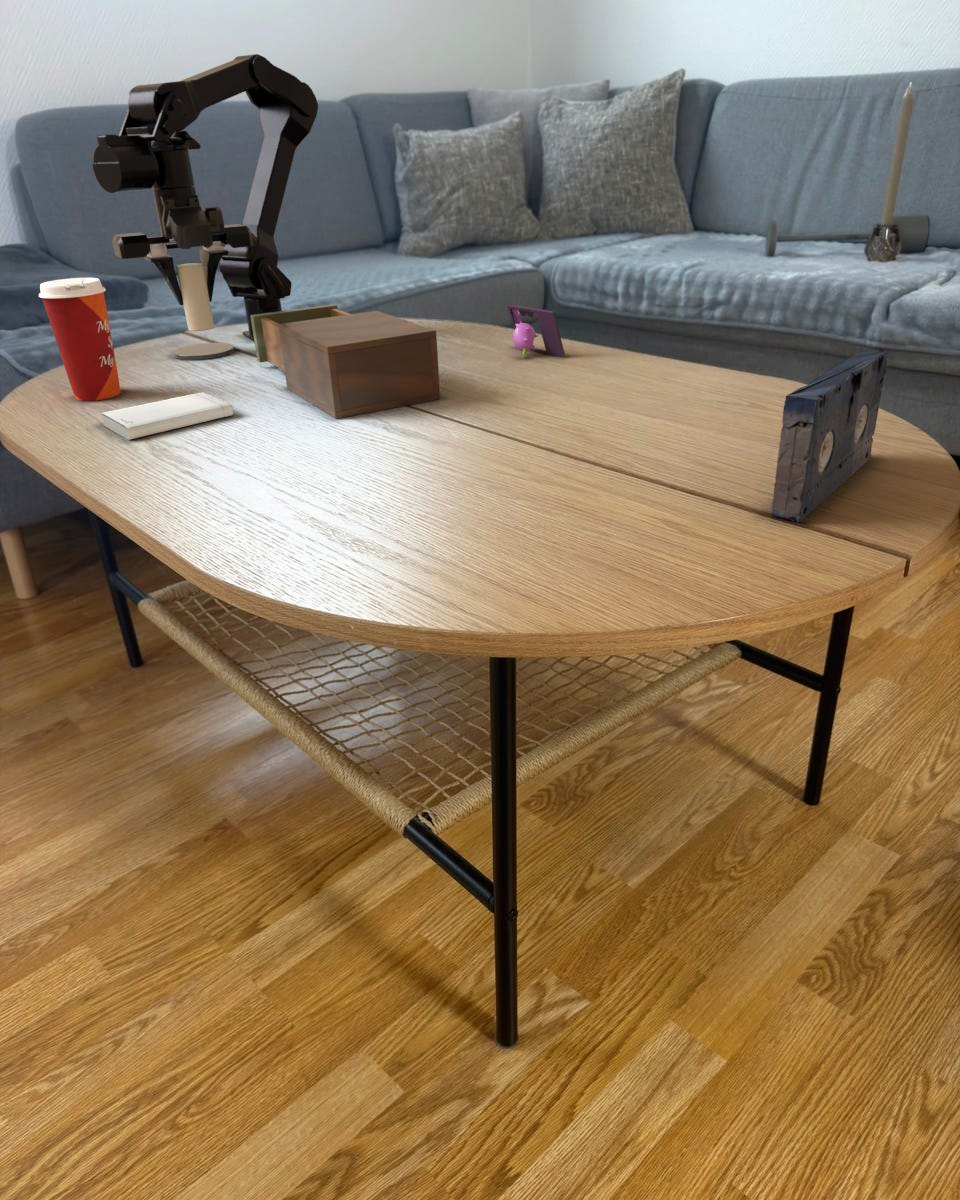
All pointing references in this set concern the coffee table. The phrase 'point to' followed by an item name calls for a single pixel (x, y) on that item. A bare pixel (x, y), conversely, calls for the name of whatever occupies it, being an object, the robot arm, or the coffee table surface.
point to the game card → (526, 333)
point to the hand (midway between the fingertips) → (195, 303)
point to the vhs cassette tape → (827, 433)
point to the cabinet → (360, 362)
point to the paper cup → (83, 336)
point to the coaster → (203, 351)
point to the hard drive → (166, 415)
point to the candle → (195, 296)
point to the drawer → (269, 330)
